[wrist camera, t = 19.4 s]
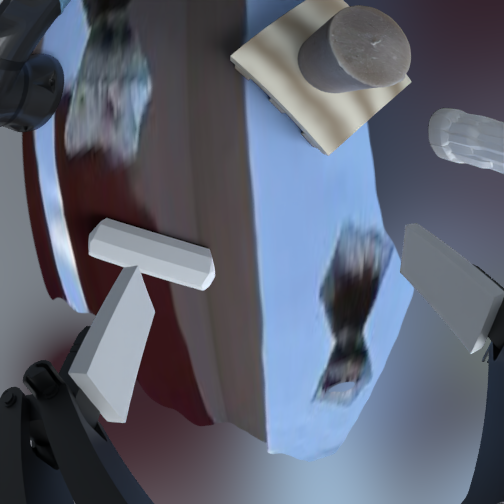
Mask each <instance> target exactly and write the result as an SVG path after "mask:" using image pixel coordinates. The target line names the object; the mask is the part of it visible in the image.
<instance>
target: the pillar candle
mask: <svg viewBox="0 0 504 504" xmlns="http://www.w3.org/2000/svg"><path fill="white" fill-rule="evenodd" d="M410 61H411V51H410V45H409V42H408V40H407V38H406V36H405V34H404V33H403V31H402V30H401V28H400V27H399V26H398V24H397V23H396V22H395V21H394V20H392V18H391V17H389V16H388V15H386V14H384V13H383V12H381V11H379V10H377V9H374V8H372V7H367V6H360V5H357V6H350V7H346V8H344V9H342V10H340V11H339V12H338V13H336V14H335V15H334V16H333V17H331V18H330V19H329V20H328V21H327V22H326V23H325V24H323V25H322V26H321V27H320V28H319V29H318V30H317V31H315V32H314V33H313V34H312V35H311V36H310V37H309V38H308V39H307V40H306V41H305V42H304V43H303V44H302V46H301V47H300V49H299V53H298V65H299V69H300V71H301V73H302V75H303V77H304V78H305V79H306V80H307V81H308V83H309V84H311V85H312V86H313V87H315V88H316V89H318V90H320V91H323V92H327V93H344V92H350V91H357V90H363V89H370V88H378V87H383V88H384V87H389V86H392V85H395V84H396V83H398V82H401V81H403V80H404V79H405V75H406V73H407V71H408V69H409V66H410Z"/></svg>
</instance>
